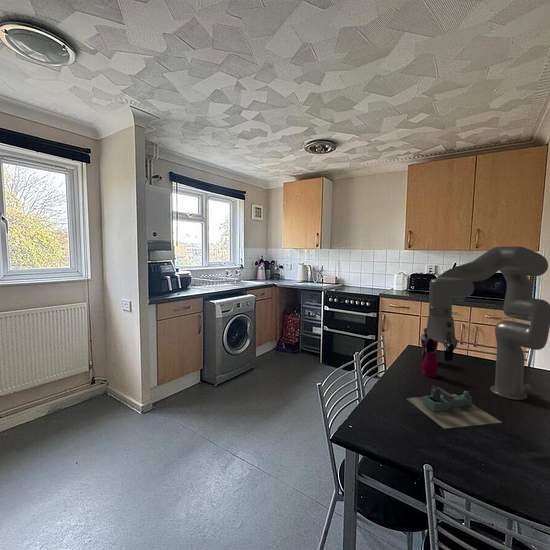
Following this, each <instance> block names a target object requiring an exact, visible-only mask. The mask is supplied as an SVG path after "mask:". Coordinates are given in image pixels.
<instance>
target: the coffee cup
mask: <svg viewBox="0 0 550 550" xmlns="http://www.w3.org/2000/svg"><path fill="white" fill-rule="evenodd" d="M424 335H425V334H424V333H421V335H420V337H419V339H420V345H421V359H422V362H423V361H424V359H425V357H426V351H425V348H426V347H425V345H424V342H425V340H426V338H425V336H424ZM437 343H438V344H439V342H437ZM437 352H438V347H437V348H436V352H435V359H436V360H437Z"/></svg>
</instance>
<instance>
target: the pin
mask: <svg viewBox="0 0 550 550" xmlns="http://www.w3.org/2000/svg"><path fill="white" fill-rule="evenodd" d="M440 395H441V394H440V390H439V389H436V388H434V389H433V396H432V401H434V402H440Z"/></svg>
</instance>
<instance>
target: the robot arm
mask: <svg viewBox="0 0 550 550" xmlns="http://www.w3.org/2000/svg"><path fill="white" fill-rule="evenodd" d="M548 268H549V262H548V260H547V258H546V257H545V256H544V255H543V254H540V253H538V252H536V251H534V250H532V249H529V248H527V247H525V246H519V245H518V246H511V245H509V246H496V247H495V246H494V247H492V248H491V249H488V250H487V251H486V252H485V253H483V254H481V255H480V256H479V257H477V258H476V259H474V260H473V261H469V262H466V263H464V264H461V265H458V266H455V267H452V268H449V269H447V270H446V271H444V272H442V273H441V274H440V275H438V276H437V277H436V278H432V279H430V281H429V295H428V296H429V297H428V298H429V300H428V303H429V305H428V317H427V322H426V323H427V324H426V327H425V328H423V330H422V331H423V334H425V335H424V336H425V338H426V342H427V348H426V351H427V352H434V351H435V342H433V341H434V340H435V341H437V342H438V344H442V345H443V347H444V348H445V349H444V350H443V351H444V352H443V361H446V362H448V361H449V362H450V361H453V359H454V351H455V349H456V348H457V346H458V344H459V339H457V337H456V329H455V321H454V317H453V316H452V315H453V298H457V299H458V298H459V299H464V298H468V297H470V296H472V295H473V293H474V291H475V285H474V282H480V281H484V280H488V279H489V278H491V277H492V276H493V275H495V274H497V272H500V273H501V274H502V275H503V278H504V279H505V281H506V291H505V295H504V296H505V297H504V303H503V313H504V315H505V316H506V317H509V318H512V319H516V320H520V321H521V320H522V321H525V322H526V321H527V322H529V323H523V322H517V321H512V320H501V321H499V322H498V323H497V324H496V325H495V327H494V334H495V335H494V336H495V341H496V355H495V356H496V359H495V377H494V379H495V380H494V384H493V385H490V391H491V392H492V393H493V394H495V395H497V396H499V397H502V398H505V399H509V400H516V401H522V400H527V398H528V395H527V393H526V392H525V391H526V390H531V389H532V385H531V384H529V383H528V384H524V371H525V358H526V357H525V353H524V349H523V348H525V349H526V348H527V349H530V350H534V351H541V350H543V349H544V348H545V347H546V345H547V342H548V339H549V335H550V334H549V333H550V303H549V302H548V301H547V300H545V299H542V298H535V297H532V292H533V285H532V282H531V280H530V278H529V277H539V276H543V275H544V274H546V273H547V271H548Z"/></svg>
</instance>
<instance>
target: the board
mask: <svg viewBox="0 0 550 550" xmlns="http://www.w3.org/2000/svg"><path fill="white" fill-rule="evenodd" d="M434 388H436V389H439V390H440V397H445V398H447V399H448V400H454V396H459V395H457V394H456V393H455V394H454V393H453V394H452V393H449V392H448V391H446V390H444V389H443V388H441V387H439V386H438V385H437V384H436V385H431V391H430V395H433V389H434ZM406 400H407V401H408V402H410V403H411V404H412V405H413V406H415V407H416V408H417V409H419V411H421V412H422V413H424V414H425V415H426V416H427V417H428V418H430V419H431V420H432V421H434V422H435V423H436V424H437V425H439V426H440V427H442V429H445V430H446V429H454V428H465V427H474V426H482V425H492V424H501V423H503V422H502V421H501V420H499V419H498V418H495V417H494V416H492V415H491V414H489V413H488V412H486V411H484V410H483V409H481V408H479V407H478V406H476V405H474V404H473V403H472V407H454V408H449V410H448V411H436V412H434V411H432V410H431V409H430V408H428V407H427V406H426V405H425V404H423V396H420V397H408V398H406Z"/></svg>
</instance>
